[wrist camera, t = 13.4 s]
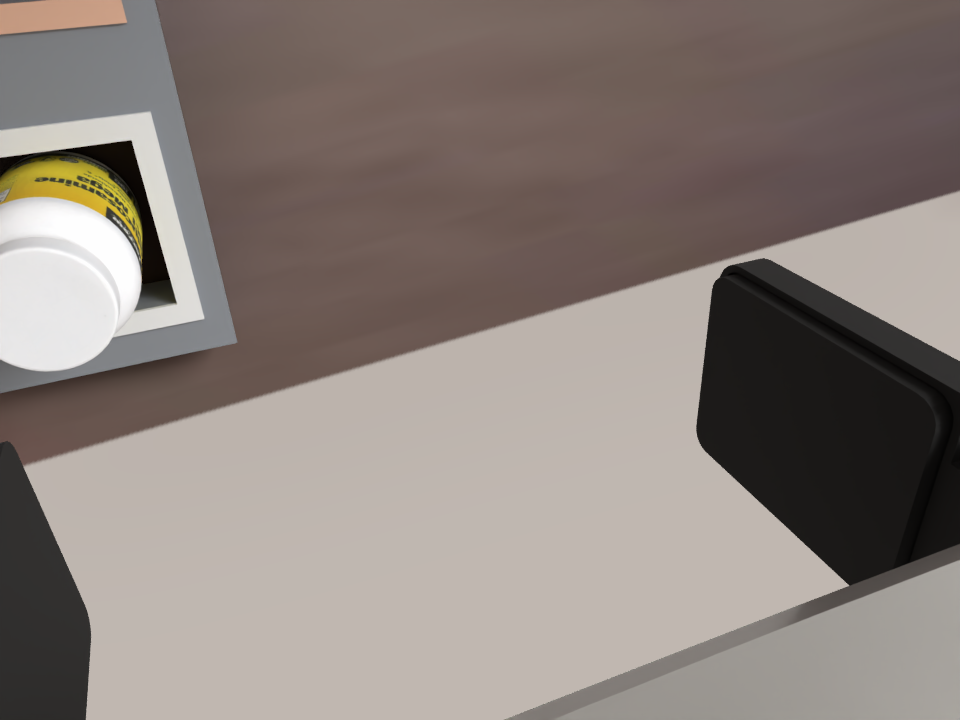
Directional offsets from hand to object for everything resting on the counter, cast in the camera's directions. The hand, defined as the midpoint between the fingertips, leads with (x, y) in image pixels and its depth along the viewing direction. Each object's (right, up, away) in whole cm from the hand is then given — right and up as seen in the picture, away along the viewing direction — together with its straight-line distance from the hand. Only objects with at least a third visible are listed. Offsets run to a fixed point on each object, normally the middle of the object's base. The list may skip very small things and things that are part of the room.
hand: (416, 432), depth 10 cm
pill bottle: (-18, +8, +25) cm, 32 cm away
